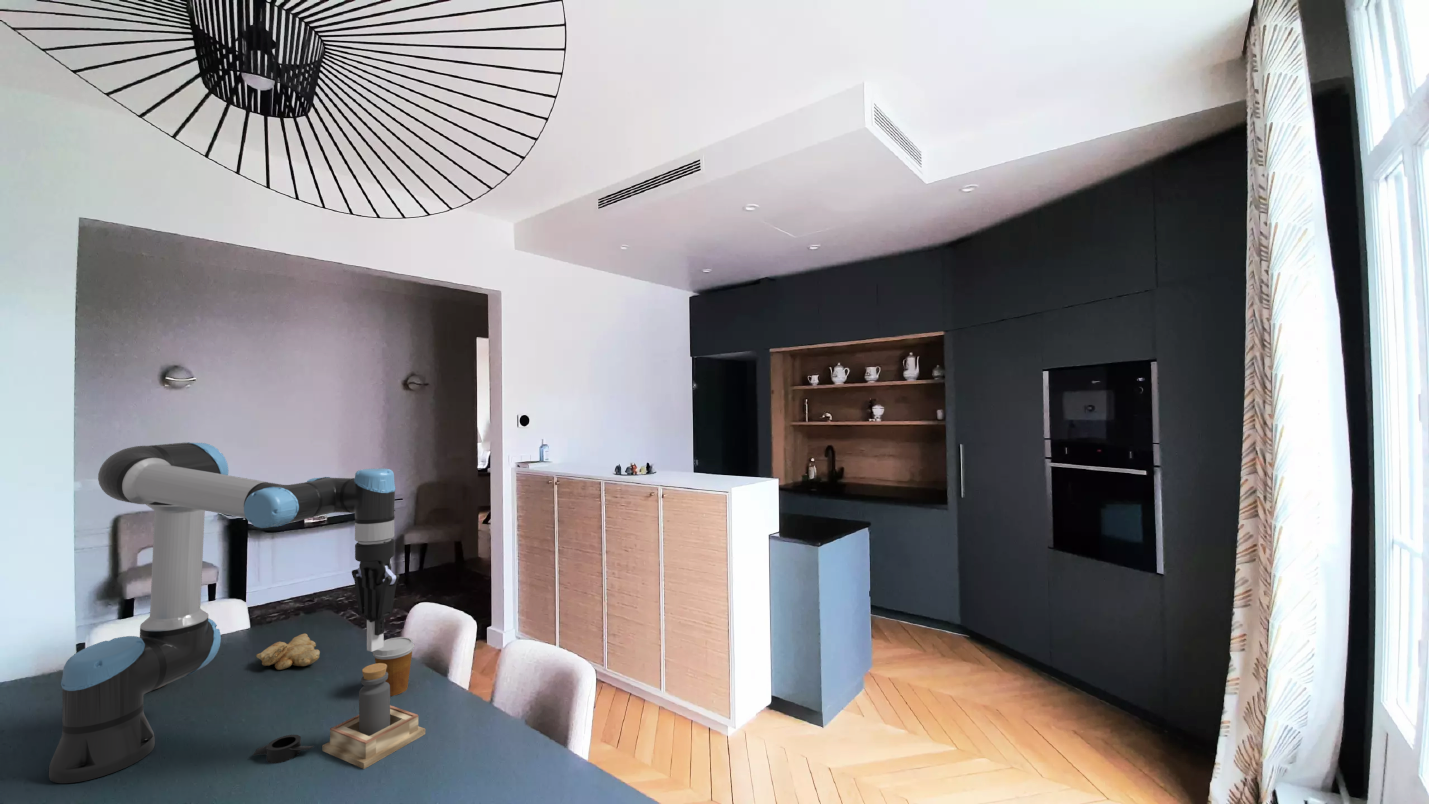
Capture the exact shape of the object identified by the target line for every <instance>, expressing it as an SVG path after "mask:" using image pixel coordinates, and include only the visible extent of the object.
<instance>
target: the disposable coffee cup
mask: <svg viewBox="0 0 1429 804" xmlns="http://www.w3.org/2000/svg"><path fill="white" fill-rule="evenodd" d="M414 649H415V643H414V641H413V639H412V638H410V637H406V636H404V637H403V636H398V637H391V638H387V639H384V647H382V648H380V649H377V650H375V651H372V656H373V657H374V661H375V663H374V664H377V663H384V664H386V665H387V668H386V672H387V673H388V679H387V680H386V681H385V682H387V683H389V684H390V697H394V696H398V695H400V694H402V693H404V692H406V691H407V690H408V686H409V678H410V672H411V666H412V665H411V663H412V659H413V658H412V656H413V651H414Z"/></svg>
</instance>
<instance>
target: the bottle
mask: <svg viewBox="0 0 1429 804" xmlns="http://www.w3.org/2000/svg"><path fill="white" fill-rule="evenodd" d="M386 668H387V665H386V664H384V663H377V664H376V663H372V664H369V665H366V666H365V667H363V668H362V669H361V673H362V677H361V678H360V684H361V685H363V686H362V687H361V688H360V690H359V691H358V705H359V706H358V715H359V732H360V733H362V734H365V735H367V736H371V735H373V734H375V733H376V732H378V731H380V730H382V729H384V728H386V727H388V726H390V705H391V696H390V684H389V683H387V682H385V681H386V680H387V679H388V673H387V672H386Z"/></svg>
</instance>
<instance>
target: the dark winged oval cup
mask: <svg viewBox="0 0 1429 804" xmlns="http://www.w3.org/2000/svg"><path fill="white" fill-rule="evenodd" d="M301 739H302V737H301V736H300V735H299V734H289V735H287V734H286V735H283V736H279V737H277V738H275V739H273V740H271V741H270V742H268V743H267V744H266V745H264V746H262V747H259V748H257V749H256V750H255V751H254V752H253V754H252V757H254V756H258V755H259V756H260V755H266V762H267V763H268V764H272V765H273V764H280V763H284V762H288V761H291V760H292V759H294V758H296V757H297V756H299V755H300V754H301V752H302V751H305V750H306V751H307V750H311V749H313V748H314V747H315V745H302V740H301Z"/></svg>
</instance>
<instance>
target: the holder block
mask: <svg viewBox="0 0 1429 804" xmlns="http://www.w3.org/2000/svg"><path fill="white" fill-rule="evenodd" d="M425 735H426V728H424V727H421V726H419V714H417V713H414V712H410V711H408V710H405V709H402V708H400V707H396V706H394V705H391V704H390V726H388V727H386V728H384V729H382V730H380V731H378V732H376V733H375V734H373V735H371V736H367V735H365V734H362V733H360V732H359V714H357V715H355V716H353V717H351V718H349V719H347V720H345V721H342V722H341V723H338V724H336V725H334V726H333V727H330V728H329V741H328V742H327V743H325V744H322V746H321V747H322V750H321V751H322V752H324V753H326V754H329V755H330V756H333V757H335V758H336V759H337V758H338V759H340V760H341V761H344V762H347V763H349V764H351V765H353V766H355V767H358V768H361V769H362V770H365V769H367V768H368V767H370V766H372V765H374V764H376V763H378V762H379V761H380V760H383V759H384V758H386V757H388V756H390V755H391V754H393V753H395V752H396V751H399V750H400V749H402V748H404V747H406V746H407V745H409V744H411V743H413V742H414V741H416V740H418V739H420V738H422V737H423V736H425Z"/></svg>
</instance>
